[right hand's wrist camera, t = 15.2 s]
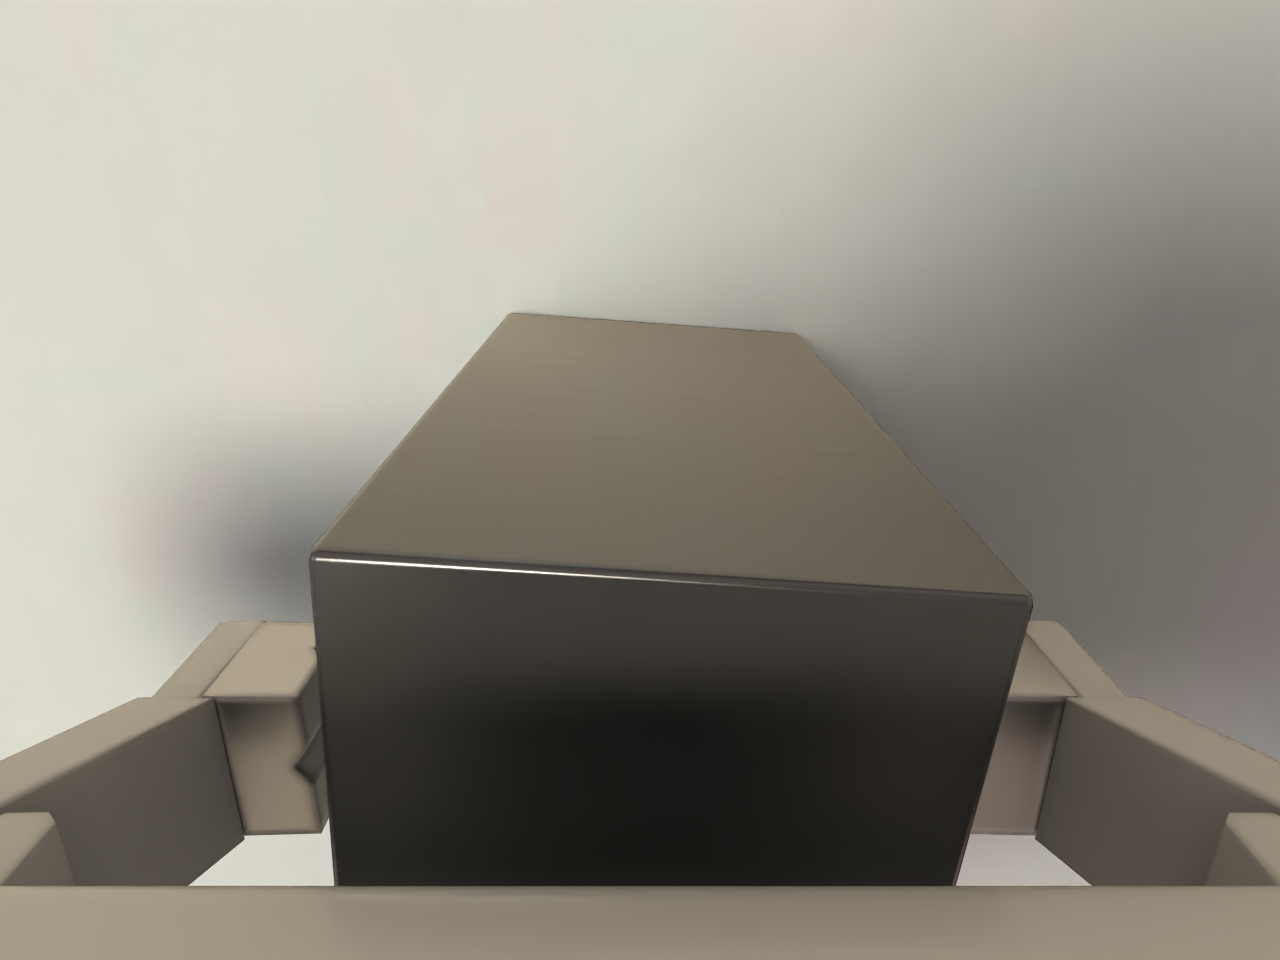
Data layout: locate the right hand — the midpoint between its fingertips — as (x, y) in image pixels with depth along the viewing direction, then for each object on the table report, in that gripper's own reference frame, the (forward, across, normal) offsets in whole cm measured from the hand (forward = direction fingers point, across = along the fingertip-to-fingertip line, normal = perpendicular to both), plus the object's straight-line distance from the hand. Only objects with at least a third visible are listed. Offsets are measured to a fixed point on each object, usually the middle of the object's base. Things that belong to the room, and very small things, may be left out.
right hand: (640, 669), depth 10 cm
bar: (+6, -1, -9) cm, 11 cm away
